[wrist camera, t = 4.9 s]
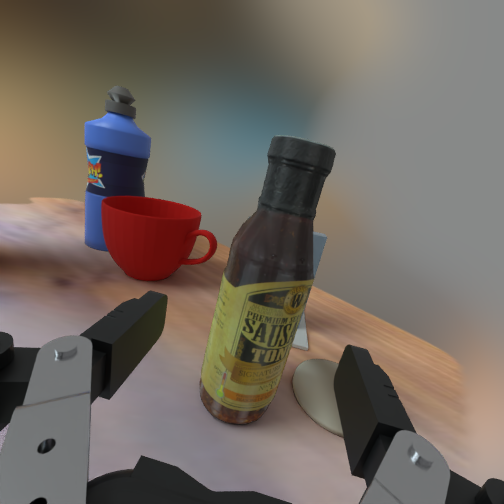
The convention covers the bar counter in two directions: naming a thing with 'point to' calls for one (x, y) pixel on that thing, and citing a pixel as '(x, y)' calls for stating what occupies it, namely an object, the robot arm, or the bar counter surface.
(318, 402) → the coaster
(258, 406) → the sauce bottle
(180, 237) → the ceramic cup
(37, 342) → the bar counter surface
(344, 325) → the bar counter surface
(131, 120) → the water bottle
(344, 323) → the bar counter surface
